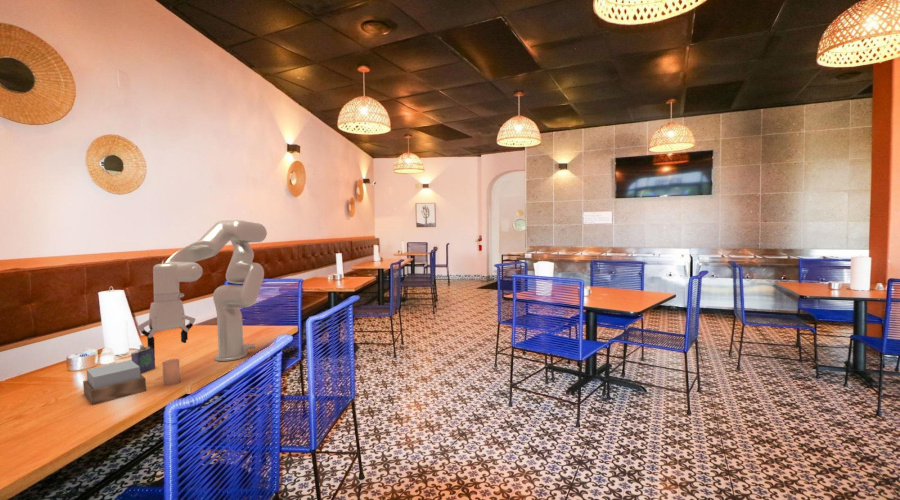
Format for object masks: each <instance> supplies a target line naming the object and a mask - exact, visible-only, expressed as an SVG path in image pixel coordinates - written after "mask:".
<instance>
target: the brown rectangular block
mask: <svg viewBox="0 0 900 500" xmlns="http://www.w3.org/2000/svg"><path fill="white" fill-rule="evenodd" d="M161 367H162V381H163V382H162V383H163V386H165V387H166V386H175V385H176V384H180V383H181V373H180V371H181V370H180V359H178V358H172V359H167V360H164V361H162V366H161Z"/></svg>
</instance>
